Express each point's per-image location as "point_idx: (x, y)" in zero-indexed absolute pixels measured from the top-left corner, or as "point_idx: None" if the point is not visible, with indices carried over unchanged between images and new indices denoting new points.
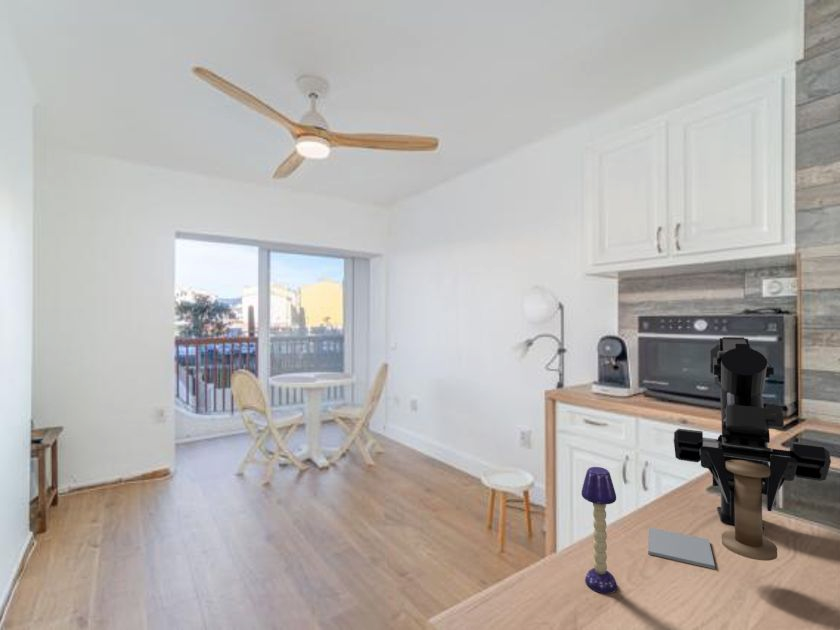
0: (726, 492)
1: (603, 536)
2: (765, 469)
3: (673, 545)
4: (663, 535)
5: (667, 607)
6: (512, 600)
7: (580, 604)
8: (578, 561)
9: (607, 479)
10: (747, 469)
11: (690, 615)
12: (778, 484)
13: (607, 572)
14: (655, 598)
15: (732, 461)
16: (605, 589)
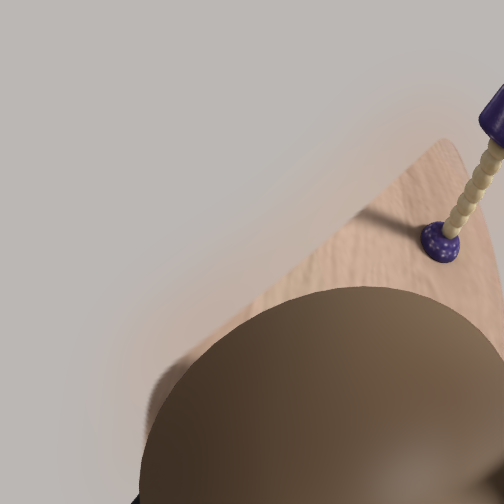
0: None
1: (467, 183)
2: (182, 462)
3: None
4: None
5: (362, 251)
6: (453, 168)
7: (423, 195)
8: (484, 277)
9: (501, 90)
10: (350, 327)
11: (333, 254)
12: (138, 497)
13: (443, 237)
14: (382, 261)
15: (489, 491)
16: (426, 226)
